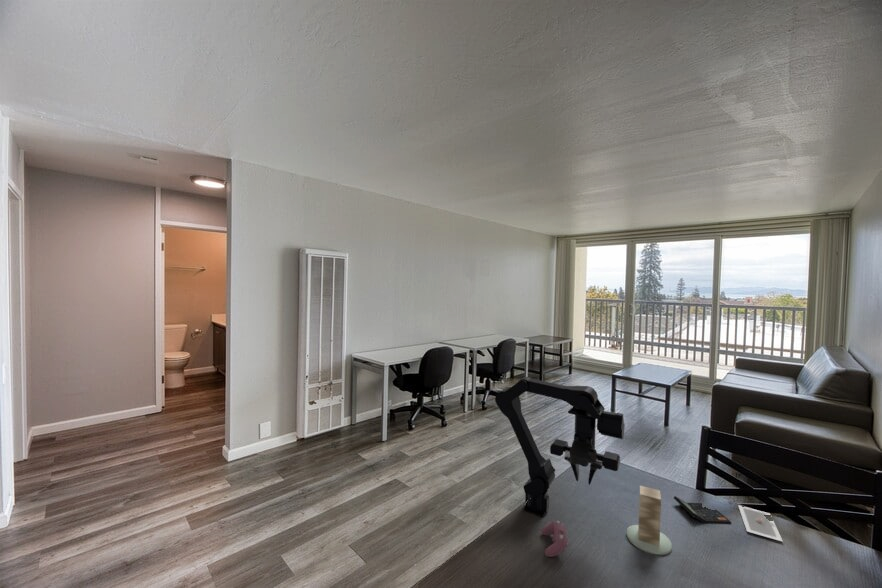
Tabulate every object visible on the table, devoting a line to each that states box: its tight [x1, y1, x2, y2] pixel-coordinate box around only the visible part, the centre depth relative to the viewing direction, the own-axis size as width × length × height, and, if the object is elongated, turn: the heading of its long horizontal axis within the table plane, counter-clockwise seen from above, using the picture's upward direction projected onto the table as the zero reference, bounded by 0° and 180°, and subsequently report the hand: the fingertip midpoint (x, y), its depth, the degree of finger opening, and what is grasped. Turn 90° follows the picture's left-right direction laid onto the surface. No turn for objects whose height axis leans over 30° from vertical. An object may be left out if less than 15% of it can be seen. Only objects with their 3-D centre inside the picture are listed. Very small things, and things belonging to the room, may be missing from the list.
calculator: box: [673, 495, 732, 525], centre depth 115 cm, size 9×12×3 cm
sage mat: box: [626, 524, 673, 556], centre depth 102 cm, size 11×11×1 cm
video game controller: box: [541, 519, 569, 558], centre depth 99 cm, size 10×5×7 cm, turn 170°
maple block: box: [637, 485, 662, 546], centre depth 102 cm, size 5×5×13 cm
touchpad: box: [737, 504, 784, 542], centre depth 110 cm, size 8×15×2 cm, turn 148°
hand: (583, 482), depth 108 cm, fingers open, 3 cm apart
